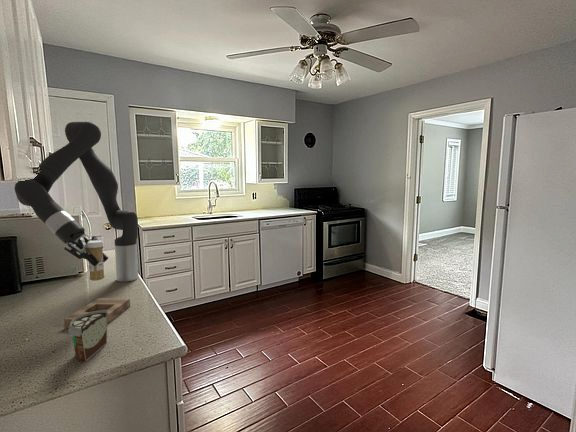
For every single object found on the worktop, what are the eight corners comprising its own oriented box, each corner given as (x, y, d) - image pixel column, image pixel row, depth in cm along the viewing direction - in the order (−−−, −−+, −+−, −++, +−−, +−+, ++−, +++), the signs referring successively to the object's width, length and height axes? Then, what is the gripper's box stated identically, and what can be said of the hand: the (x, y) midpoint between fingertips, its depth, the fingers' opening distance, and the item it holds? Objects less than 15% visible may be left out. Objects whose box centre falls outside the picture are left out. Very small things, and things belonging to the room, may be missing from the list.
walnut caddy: (99, 305, 119) (98, 297, 119) (130, 306, 119) (129, 298, 118) (64, 327, 101) (64, 319, 101) (100, 328, 101) (100, 320, 100)
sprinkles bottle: (104, 279, 108) (103, 241, 106) (89, 281, 105) (87, 243, 103) (104, 276, 111) (102, 239, 110) (89, 278, 109) (87, 240, 107)
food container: (90, 340, 94) (88, 308, 93) (110, 340, 94) (108, 309, 93) (59, 364, 82) (56, 328, 81) (81, 365, 82) (79, 329, 80)
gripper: (56, 222, 99) (95, 260, 100) (86, 216, 113) (120, 250, 114) (41, 238, 100) (80, 275, 101) (73, 230, 114) (107, 263, 115)
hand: (101, 262), depth 107 cm, fingers closed on sprinkles bottle, 4 cm apart
